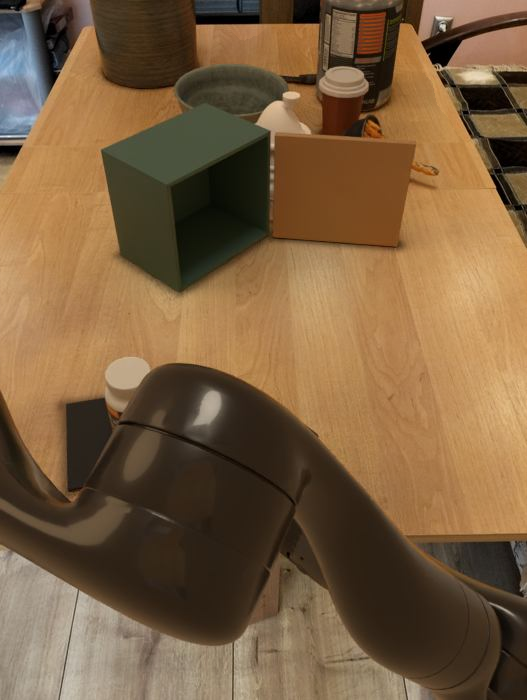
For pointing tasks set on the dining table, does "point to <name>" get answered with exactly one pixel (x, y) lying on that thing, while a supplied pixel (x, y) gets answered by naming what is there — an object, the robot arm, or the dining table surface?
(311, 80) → the knife
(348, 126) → the coffee cup
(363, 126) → the fried food
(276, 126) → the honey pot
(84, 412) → the mat
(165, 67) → the planter
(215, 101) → the bowl
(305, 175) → the cupboard door
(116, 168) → the cupboard
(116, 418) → the pill bottle
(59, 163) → the dining table surface
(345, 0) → the supplement tub
